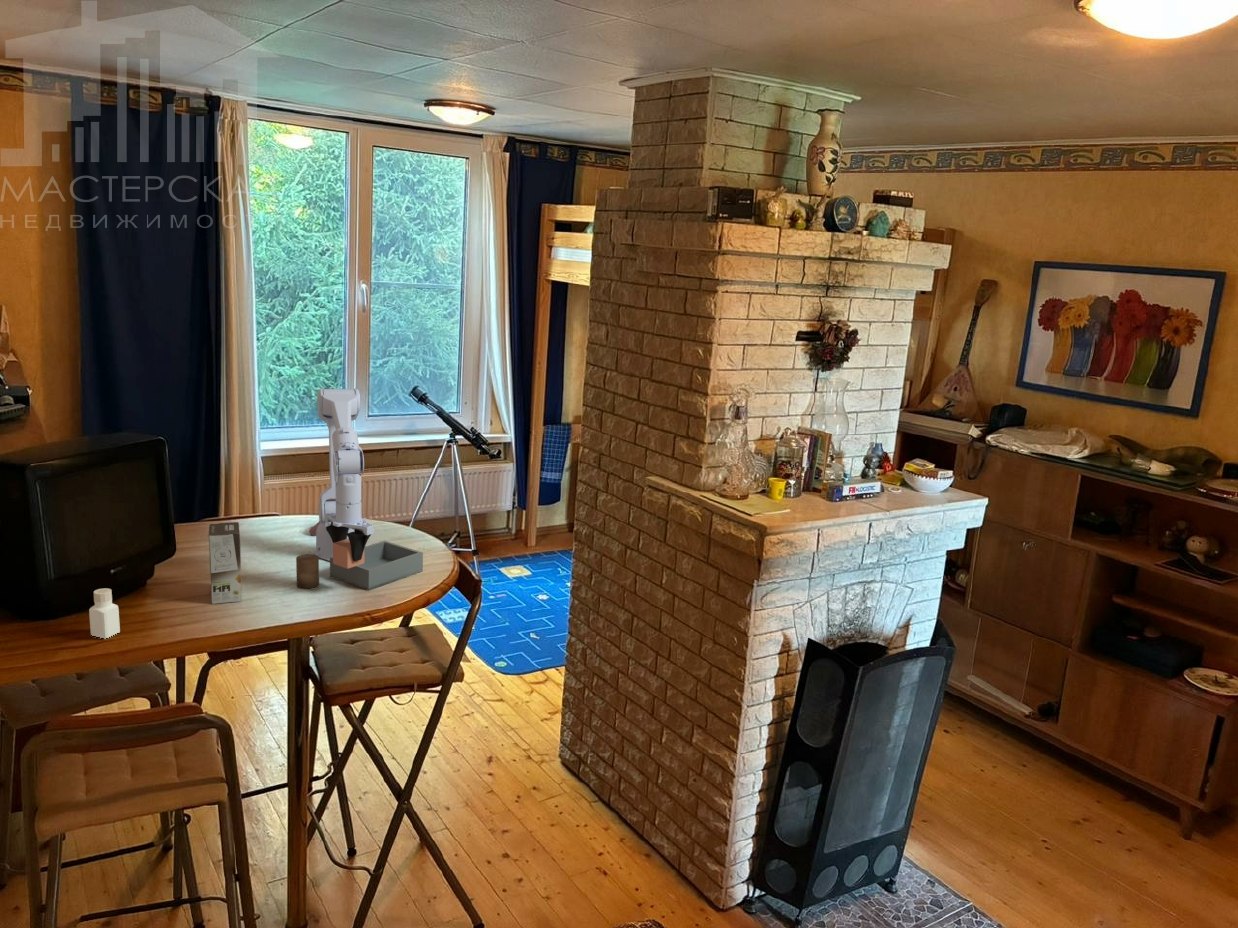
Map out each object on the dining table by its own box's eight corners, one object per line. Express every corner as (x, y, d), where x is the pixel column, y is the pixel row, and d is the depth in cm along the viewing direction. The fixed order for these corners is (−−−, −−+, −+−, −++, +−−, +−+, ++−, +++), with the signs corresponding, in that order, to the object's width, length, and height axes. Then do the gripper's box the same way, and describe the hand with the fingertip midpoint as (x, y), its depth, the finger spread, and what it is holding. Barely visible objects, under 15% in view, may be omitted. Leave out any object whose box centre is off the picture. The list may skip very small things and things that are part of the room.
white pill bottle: (105, 629, 190) (102, 586, 188) (121, 633, 189) (118, 589, 187) (89, 637, 187) (86, 592, 185) (105, 640, 186) (102, 595, 183)
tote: (330, 576, 227) (329, 557, 226) (384, 558, 241) (384, 540, 240) (368, 590, 220) (368, 570, 219) (422, 571, 234) (422, 552, 233)
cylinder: (292, 585, 220) (291, 557, 218) (309, 580, 224) (309, 552, 222) (306, 591, 217) (305, 562, 216) (323, 585, 221) (323, 557, 220)
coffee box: (242, 601, 209) (240, 533, 205) (211, 604, 206) (208, 535, 202) (241, 587, 217) (238, 521, 213) (211, 589, 214) (208, 523, 211)
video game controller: (320, 542, 255) (330, 522, 253) (306, 533, 256) (316, 513, 254) (337, 532, 265) (347, 512, 263) (324, 523, 265) (334, 503, 263)
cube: (332, 563, 216) (332, 543, 215) (349, 558, 221) (349, 538, 219) (347, 568, 214) (347, 547, 213) (364, 563, 218) (364, 542, 217)
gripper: (313, 498, 214) (314, 554, 217) (356, 511, 207) (356, 569, 210) (337, 492, 220) (338, 547, 223) (380, 505, 212) (380, 561, 216)
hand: (348, 557), depth 217 cm, fingers closed on cube, 5 cm apart
